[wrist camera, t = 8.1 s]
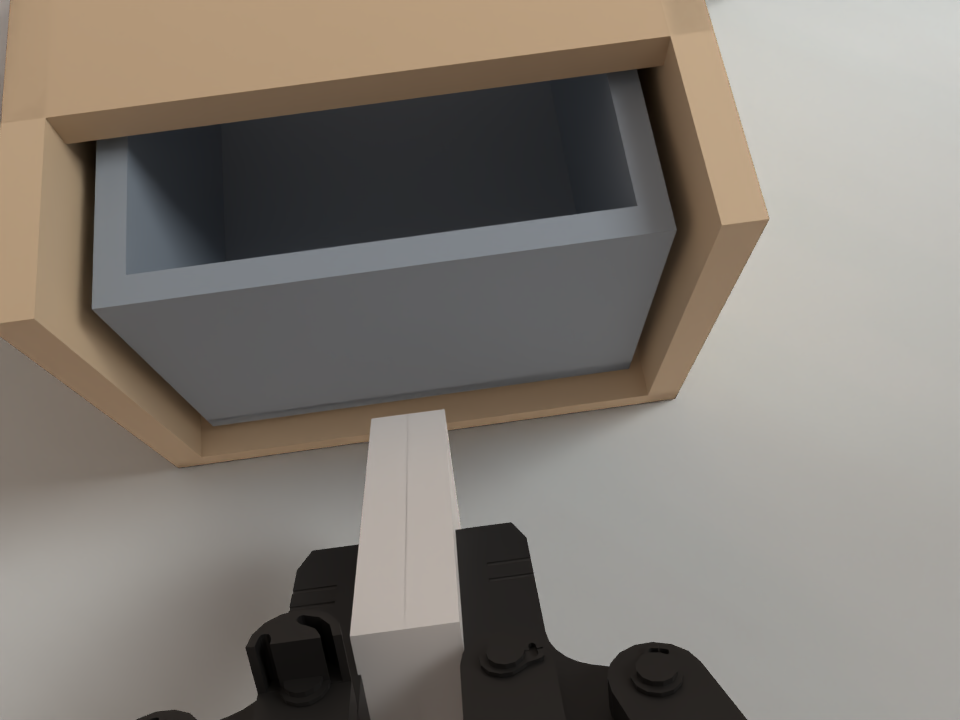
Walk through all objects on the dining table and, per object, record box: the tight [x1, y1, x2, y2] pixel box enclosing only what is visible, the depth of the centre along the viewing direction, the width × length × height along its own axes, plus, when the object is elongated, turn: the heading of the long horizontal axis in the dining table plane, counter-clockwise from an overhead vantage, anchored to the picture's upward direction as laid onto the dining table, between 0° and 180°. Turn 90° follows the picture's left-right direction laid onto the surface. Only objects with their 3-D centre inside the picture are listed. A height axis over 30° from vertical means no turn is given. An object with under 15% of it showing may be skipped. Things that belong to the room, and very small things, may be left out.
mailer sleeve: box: [0, 0, 769, 468], centre depth 21 cm, size 13×14×9 cm
